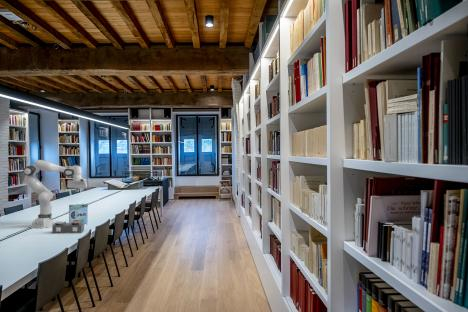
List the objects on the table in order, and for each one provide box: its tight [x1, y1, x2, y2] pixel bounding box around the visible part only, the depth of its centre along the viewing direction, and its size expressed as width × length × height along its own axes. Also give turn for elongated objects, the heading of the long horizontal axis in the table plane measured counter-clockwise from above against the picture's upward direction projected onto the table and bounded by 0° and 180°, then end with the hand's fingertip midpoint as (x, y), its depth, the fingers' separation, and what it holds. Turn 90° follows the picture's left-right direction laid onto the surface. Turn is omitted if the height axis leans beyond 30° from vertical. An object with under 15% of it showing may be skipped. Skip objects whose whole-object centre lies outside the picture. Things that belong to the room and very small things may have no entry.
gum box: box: [68, 203, 89, 225], centre depth 394 cm, size 20×5×23 cm, turn 123°
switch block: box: [51, 221, 85, 234], centre depth 353 cm, size 28×10×10 cm, turn 98°
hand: (77, 192), depth 378 cm, fingers closed
